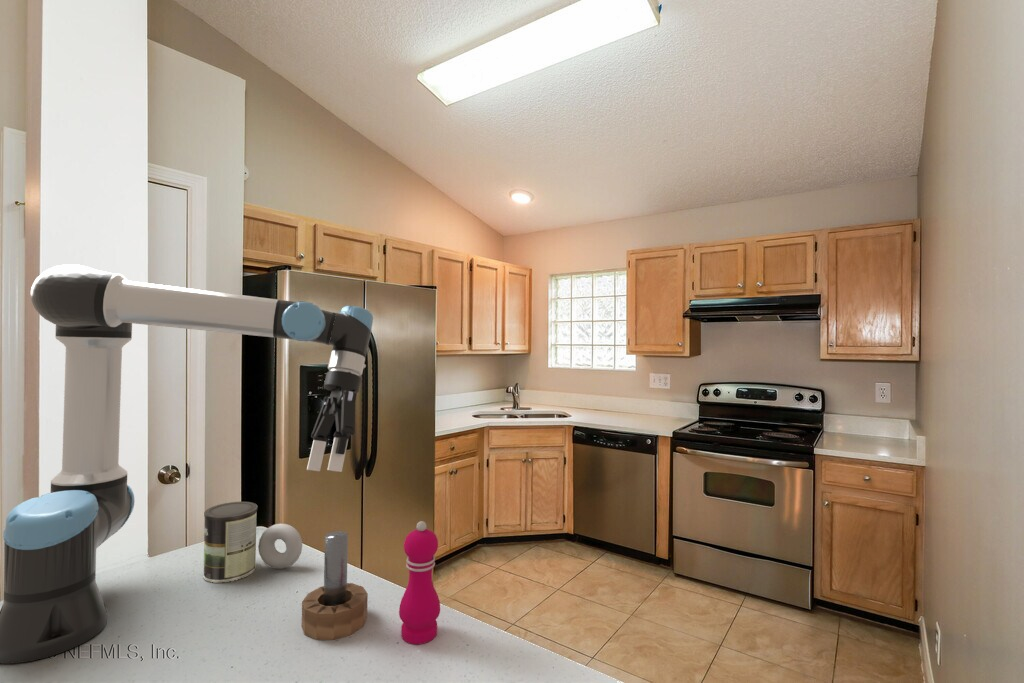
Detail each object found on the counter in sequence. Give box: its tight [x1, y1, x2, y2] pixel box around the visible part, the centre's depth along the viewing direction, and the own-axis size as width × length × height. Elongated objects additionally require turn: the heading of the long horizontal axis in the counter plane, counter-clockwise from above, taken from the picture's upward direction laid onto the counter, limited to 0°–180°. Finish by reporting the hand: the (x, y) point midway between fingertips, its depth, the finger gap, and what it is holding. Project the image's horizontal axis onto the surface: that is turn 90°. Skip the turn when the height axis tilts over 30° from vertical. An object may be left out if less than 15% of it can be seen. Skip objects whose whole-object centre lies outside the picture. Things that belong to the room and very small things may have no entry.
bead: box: [301, 582, 369, 641], centre depth 92 cm, size 11×11×4 cm
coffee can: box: [202, 501, 259, 584], centre depth 111 cm, size 10×10×14 cm
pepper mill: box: [398, 520, 441, 645], centre depth 89 cm, size 7×7×20 cm
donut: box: [258, 523, 303, 570], centre depth 113 cm, size 10×4×10 cm, turn 84°
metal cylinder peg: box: [323, 530, 349, 606], centre depth 92 cm, size 4×4×16 cm
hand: (323, 470), depth 105 cm, fingers open, 13 cm apart
